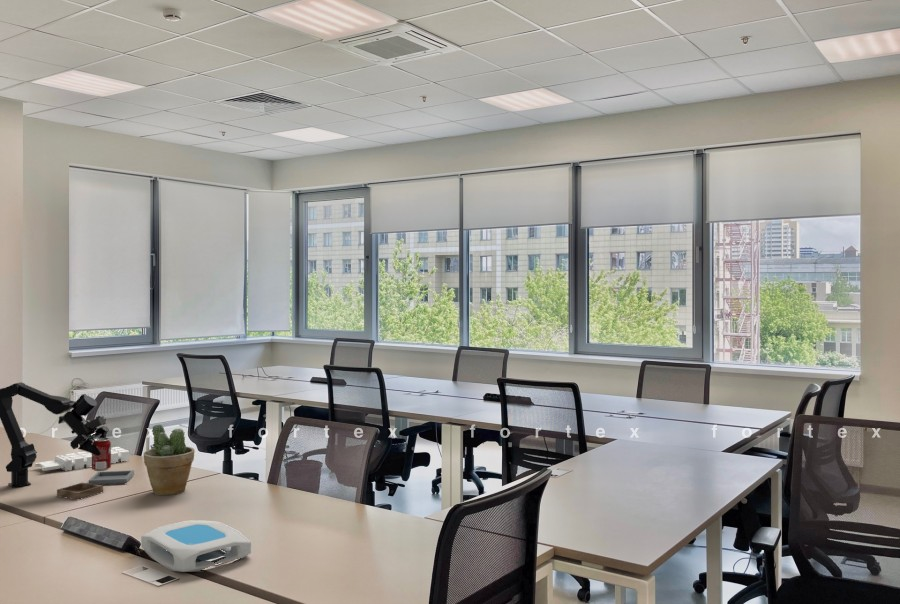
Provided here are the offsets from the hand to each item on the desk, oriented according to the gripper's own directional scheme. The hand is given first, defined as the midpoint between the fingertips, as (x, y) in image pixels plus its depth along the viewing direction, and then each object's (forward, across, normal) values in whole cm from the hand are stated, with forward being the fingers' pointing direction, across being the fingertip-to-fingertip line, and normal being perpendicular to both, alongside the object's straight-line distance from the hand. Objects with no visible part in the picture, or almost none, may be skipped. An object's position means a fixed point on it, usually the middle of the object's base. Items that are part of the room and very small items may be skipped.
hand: (104, 452), depth 286 cm
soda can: (+4, 0, +6) cm, 7 cm away
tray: (+8, +10, +11) cm, 17 cm away
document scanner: (+56, -68, -37) cm, 95 cm away
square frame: (+7, -11, +12) cm, 18 cm away
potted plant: (+29, -4, -11) cm, 32 cm away
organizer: (-10, +33, +30) cm, 46 cm away
